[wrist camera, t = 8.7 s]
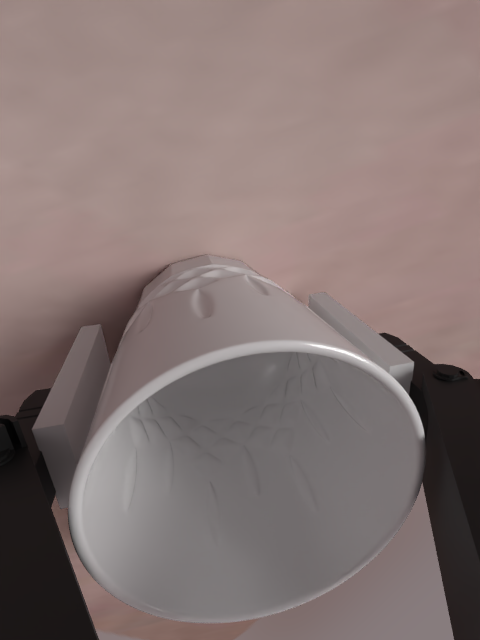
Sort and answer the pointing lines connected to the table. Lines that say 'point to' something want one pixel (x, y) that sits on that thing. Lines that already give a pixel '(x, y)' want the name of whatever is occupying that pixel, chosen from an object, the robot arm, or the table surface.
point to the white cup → (239, 452)
